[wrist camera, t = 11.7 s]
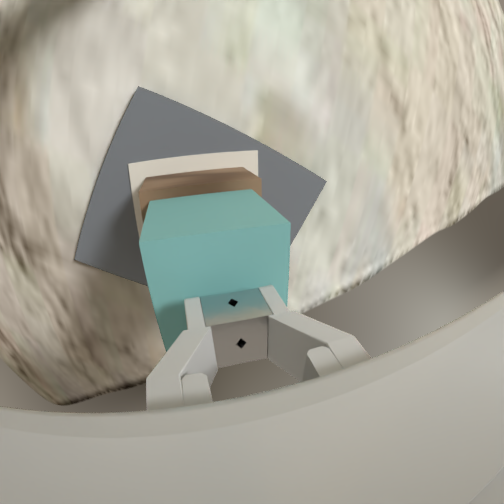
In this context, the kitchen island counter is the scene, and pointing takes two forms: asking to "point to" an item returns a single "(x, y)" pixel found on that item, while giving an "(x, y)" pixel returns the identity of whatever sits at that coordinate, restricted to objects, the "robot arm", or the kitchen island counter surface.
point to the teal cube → (211, 251)
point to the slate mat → (177, 161)
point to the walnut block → (196, 184)
